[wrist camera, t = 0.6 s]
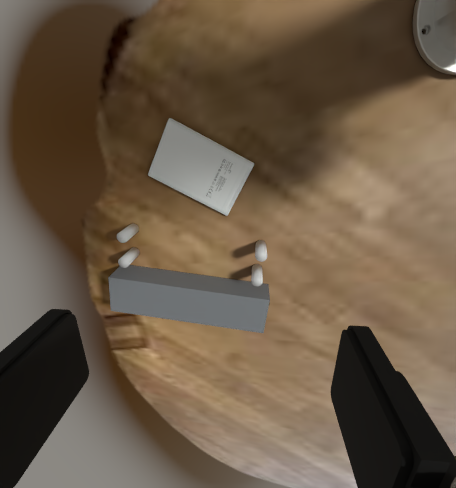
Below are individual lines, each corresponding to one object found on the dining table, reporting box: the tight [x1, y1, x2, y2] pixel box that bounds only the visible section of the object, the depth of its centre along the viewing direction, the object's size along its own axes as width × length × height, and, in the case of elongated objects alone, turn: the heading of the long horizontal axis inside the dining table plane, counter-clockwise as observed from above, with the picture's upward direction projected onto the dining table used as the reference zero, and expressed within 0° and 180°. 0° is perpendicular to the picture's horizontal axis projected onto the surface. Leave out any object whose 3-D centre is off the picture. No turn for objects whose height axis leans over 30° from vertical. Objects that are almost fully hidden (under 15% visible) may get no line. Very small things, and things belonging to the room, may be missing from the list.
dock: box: [108, 223, 270, 333], centre depth 42 cm, size 13×24×4 cm, turn 84°
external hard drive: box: [148, 118, 254, 216], centre depth 37 cm, size 2×8×12 cm
